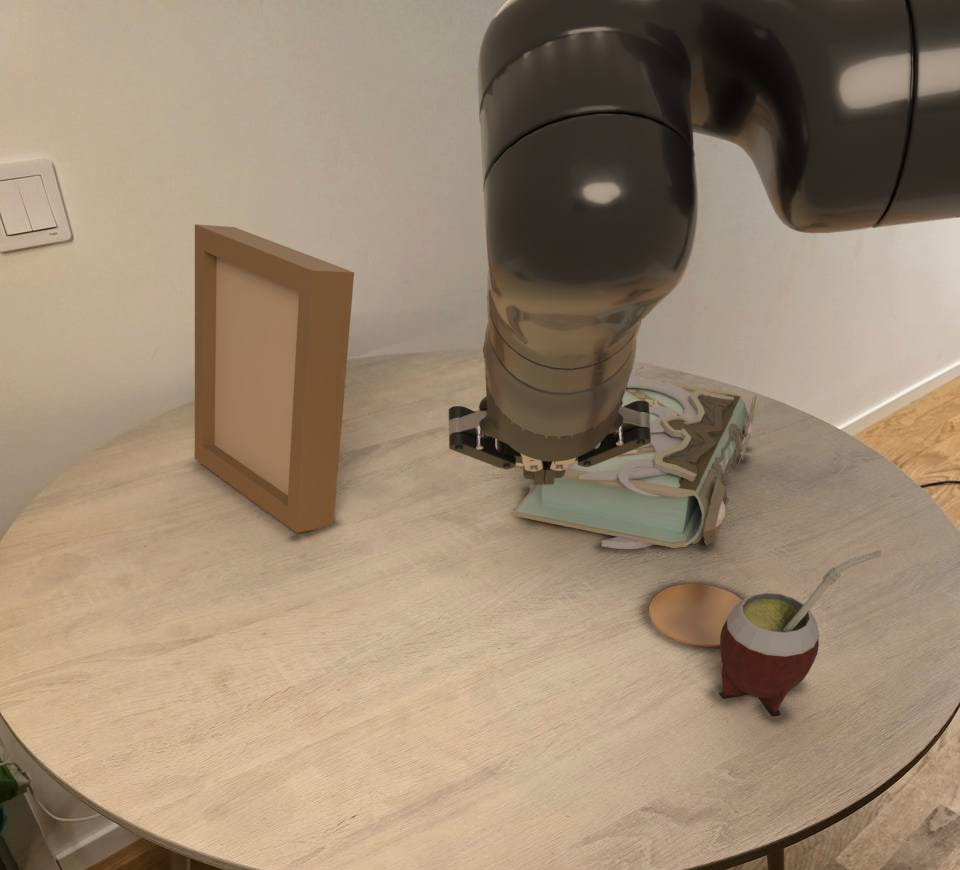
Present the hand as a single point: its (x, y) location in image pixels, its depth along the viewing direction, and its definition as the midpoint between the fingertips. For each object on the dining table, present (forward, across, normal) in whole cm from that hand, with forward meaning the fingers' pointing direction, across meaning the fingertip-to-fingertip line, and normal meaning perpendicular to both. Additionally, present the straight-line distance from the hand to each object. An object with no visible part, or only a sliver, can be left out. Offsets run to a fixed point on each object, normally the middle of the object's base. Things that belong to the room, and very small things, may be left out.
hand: (543, 471), depth 63 cm
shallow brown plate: (+17, +14, -8) cm, 23 cm away
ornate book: (+34, +12, +9) cm, 37 cm away
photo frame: (+35, -25, +11) cm, 44 cm away
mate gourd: (+10, +17, -16) cm, 25 cm away
